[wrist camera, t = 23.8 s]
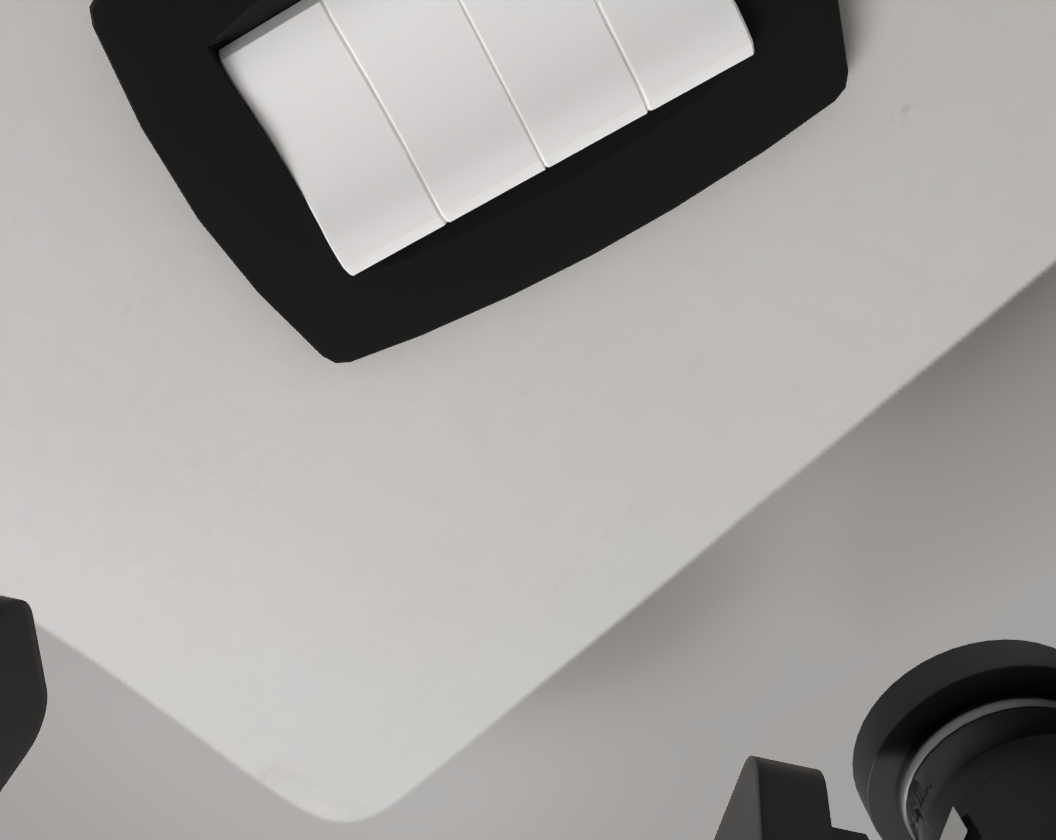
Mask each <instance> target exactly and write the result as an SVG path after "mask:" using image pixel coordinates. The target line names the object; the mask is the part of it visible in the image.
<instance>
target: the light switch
mask: <svg viewBox="0 0 1056 840" xmlns="http://www.w3.org/2000/svg"><path fill="white" fill-rule="evenodd" d="M90 13H91V19H92V25H93V28H94V30H95V32H96V34H97V36H98V38H99V40H100V42H101V44H102V46H103V49H104V51H105V53H106V55H107V57H108V59H109V61H110V63H111V65H112V67H113V69H114V71H115V74H116V76H117V78H118V80H119V82H120V84H121V86H122V88H123V90H124V92H125V94H126V96H127V99H128V101H129V103H130V105H131V107H132V109H133V111H134V113H135V115H136V117H137V119H138V121H139V123H140V126H141V128H142V129H143V131H144V133H145V134H146V136H147V137H148V139H149V141H150V142H151V144H152V145H153V147H154V149H155V150H156V152H157V154H158V155H159V157H160V158H161V160H162V162H163V163H164V165H165V166H166V168H167V170H168V171H169V173H170V175H171V176H172V178H173V179H174V181H175V183H176V184H177V186H178V187H179V189H180V191H181V192H182V194H183V196H184V197H185V199H186V200H187V202H188V204H189V205H190V207H191V208H192V210H193V212H194V213H195V215H196V216H197V218H198V220H199V221H200V222H201V223H202V224H203V226H204V227H205V228H206V229H207V231H208V232H209V233H210V234H211V236H212V237H213V238H214V239H215V240H216V242H217V243H218V244H219V245H220V247H221V248H222V249H223V250H224V251H225V253H226V254H227V255H228V256H229V258H230V259H231V260H232V261H233V262H234V264H235V265H236V266H237V267H238V269H239V270H240V271H241V272H242V273H243V275H244V276H245V277H246V278H247V280H248V281H249V282H250V283H251V284H252V286H253V287H254V288H255V289H256V291H257V292H258V293H259V294H260V295H261V296H262V297H263V298H264V299H265V300H266V301H267V302H268V303H269V304H270V305H271V306H272V307H273V308H274V309H275V310H276V311H277V312H278V313H279V314H280V315H281V316H282V317H283V318H284V319H286V320H287V321H288V322H289V323H290V324H291V325H292V326H293V327H294V328H295V329H296V330H297V331H298V332H299V333H300V334H301V335H302V336H303V337H304V338H305V339H306V340H307V341H308V342H309V343H310V344H311V345H312V346H313V347H314V348H315V349H316V350H317V351H318V352H319V353H320V354H321V355H322V356H323V357H325V358H327V359H329V360H331V361H333V362H335V363H343V362H352V361H354V360H357V359H360V358H362V357H365V356H368V355H370V354H373V353H376V352H378V351H381V350H384V349H386V348H389V347H391V346H394V345H397V344H399V343H402V342H405V341H407V340H410V339H413V338H415V337H418V336H421V335H423V334H425V333H428V332H430V331H432V330H434V329H437V328H439V327H441V326H443V325H446V324H448V323H450V322H452V321H455V320H457V319H459V318H462V317H464V316H466V315H468V314H471V313H473V312H475V311H477V310H480V309H482V308H484V307H486V306H489V305H491V304H493V303H495V302H498V301H500V300H502V299H504V298H507V297H509V296H511V295H513V294H515V293H517V292H519V291H521V290H523V289H525V288H527V287H529V286H531V285H533V284H535V283H537V282H539V281H541V280H543V279H545V278H547V277H549V276H551V275H553V274H555V273H557V272H559V271H561V270H563V269H565V268H567V267H569V266H571V265H573V264H575V263H577V262H579V261H581V260H583V259H585V258H587V257H589V256H591V255H593V254H595V253H597V252H598V251H600V250H602V249H604V248H605V247H607V246H609V245H611V244H612V243H614V242H616V241H618V240H619V239H621V238H623V237H625V236H626V235H628V234H630V233H632V232H633V231H635V230H637V229H639V228H641V227H642V226H644V225H646V224H648V223H649V222H651V221H653V220H655V219H656V218H658V217H660V216H662V215H663V214H665V213H667V212H669V211H670V210H672V209H674V208H675V207H677V206H679V205H680V204H682V203H683V202H685V201H686V200H688V199H690V198H691V197H693V196H694V195H696V194H697V193H699V192H701V191H702V190H704V189H705V188H707V187H708V186H710V185H712V184H713V183H715V182H716V181H718V180H720V179H721V178H723V177H724V176H726V175H727V174H729V173H731V172H732V171H734V170H735V169H737V168H738V167H740V166H742V165H743V164H745V163H746V162H748V161H749V160H751V159H753V158H754V157H756V156H757V155H759V154H761V153H762V152H764V151H765V150H767V149H768V148H769V147H771V146H772V145H774V144H775V143H776V142H778V141H779V140H781V139H782V138H783V137H785V136H786V135H788V134H789V133H790V132H792V131H793V130H795V129H796V128H797V127H799V126H800V125H802V124H803V123H805V122H806V121H807V120H809V119H810V118H812V117H813V116H814V115H816V114H817V113H819V112H820V111H821V110H823V109H824V108H826V107H827V106H828V105H830V104H831V103H833V102H834V101H835V100H836V99H837V98H838V96H839V95H840V94H841V93H842V91H843V90H844V89H845V88H846V82H847V75H848V66H847V60H846V53H845V46H844V39H843V32H842V25H841V18H840V11H839V4H838V0H93V1H92V3H91V5H90Z"/></svg>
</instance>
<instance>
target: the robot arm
mask: <svg viewBox="0 0 1056 840" xmlns="http://www.w3.org/2000/svg"><path fill="white" fill-rule="evenodd" d="M46 705H47V689H46V683H45V677H44V672H43V667H42V661H41V656H40V651H39V646H38V640H37V635H36V630H35V625H34V619H33V614H32V610H31V608H30V606H29V604H28V603H27V602H25V601H23V600H19V599H14V598H10V597H5V596H0V791H1V790H2V788H3V787H4V785H5V784H6V783H7V781H8V780H9V778H10V777H11V775H12V774H13V773H14V771H15V770H16V768H17V767H18V765H19V764H20V762H21V761H22V760H23V758H24V757H25V755H26V754H27V752H28V751H29V750H30V748H31V746H32V745H33V743H34V741H35V739H36V737H37V735H38V733H39V731H40V728H41V725H42V722H43V719H44V716H45V711H46ZM896 801H897V807H898V810H899V813H900V816H901V818H902V820H903V822H904V824H905V826H906V828H907V829H908V831H909V833H910V835H911V837H912V838H913V840H1056V695H1052V694H1048V693H1043V692H1035V691H1012V692H1004V693H997V694H993V695H989V696H985V697H982V698H979V699H976V700H973V701H971V702H968V703H966V704H964V705H962V706H960V707H958V708H956V709H954V710H952V711H951V712H949V713H947V714H946V715H944V716H943V717H942V718H940V719H939V720H937V721H936V722H935V723H934V724H932V725H931V726H930V727H929V728H928V729H927V730H926V731H925V732H924V733H923V734H922V735H921V736H920V737H919V738H918V739H917V740H916V742H915V743H914V744H913V746H912V747H911V749H910V750H909V752H908V753H907V755H906V757H905V759H904V761H903V763H902V765H901V768H900V771H899V774H898V778H897V784H896ZM714 840H869V839H868V837H867V835H866V834H862V833H857V832H852V831H848V830H843V829H838V828H834V827H832V826H831V818H830V811H829V804H828V795H827V789H826V783H825V779H824V776H823V774H822V773H821V771H819V770H817V769H812V768H807V767H803V766H798V765H793V764H788V763H784V762H779V761H774V760H769V759H765V758H760V757H755V756H750V757H748V759H747V760H746V762H745V764H744V766H743V768H742V771H741V774H740V776H739V779H738V781H737V784H736V786H735V789H734V791H733V794H732V796H731V799H730V801H729V804H728V806H727V809H726V811H725V814H724V816H723V819H722V821H721V824H720V826H719V829H718V831H717V834H716V837H715V839H714Z"/></svg>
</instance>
